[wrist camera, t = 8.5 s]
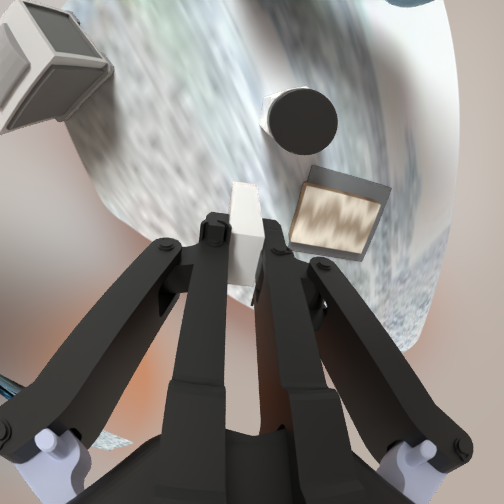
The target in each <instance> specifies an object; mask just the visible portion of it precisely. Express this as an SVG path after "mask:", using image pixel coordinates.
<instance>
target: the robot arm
mask: <svg viewBox="0 0 504 504" xmlns="http://www.w3.org/2000/svg"><path fill="white" fill-rule="evenodd" d="M385 1H386V2H388V3H390V4H392V5H395V6H399V7H416V6H420V5H423V4H426V3H429V2H432V1H434V0H385ZM254 282H256V286H255V290H254V294H253V298H252V302H251V306H253V304H254V310H255V327H256V345H257V363H258V379H259V396H260V397H259V398H260V414H261V427H260V432H259V435H258V436H250V435H246V434H243V433H239V432H235V431H232V430H228V429H225V414H226V413H225V412H226V390H225V386H224V360H225V328H226V305H227V284H233V285H241V286H250V287H253V286H254ZM184 292H188V294H187V299H186V304H185V309H184V315H183V319H182V325H181V330H180V336H179V341H178V347H177V353H176V358H175V365H174V371H173V376H172V380H171V381H170V382H169V386H168V391H167V398H166V404H165V412H164V419H163V426H162V434H160V435H158V436H155V437H153V438H151V439H149V440H148V441H146V442H145V443H143V444H142V445H141V446H140V447H139V448H137V449H136V450H135V451H134V452H133V453H131V454H130V455H129V456H128V457H126V458H125V459H124V460H123V461H122V462H120V463H119V464H118V465H117V466H115V467H114V468H113V469H112V470H110V471H109V472H108V473H106V474H105V475H104V476H103V477H101V478H100V479H99V480H97V481H96V482H95V483H93V484H92V485H91V486H89V487H88V488H87V489H85V490H84V479H85V477H86V475H87V474H88V472H89V470H90V468H91V457H90V454H89V452H88V449H89V448H90V447H91V445H92V444H93V443H94V442H95V440H96V439H97V438H98V436H99V435H100V433H101V432H102V430H103V428H104V427H105V425H106V423H107V421H108V419H109V417H110V416H111V414H112V412H113V410H114V408H115V406H116V405H117V403H118V401H119V399H120V397H121V395H122V394H123V392H124V390H125V388H126V387H127V385H128V383H129V381H130V380H131V378H132V376H133V374H134V372H135V371H136V369H137V367H138V366H139V364H140V362H141V360H142V359H143V357H144V355H145V353H146V352H147V350H148V348H149V347H150V345H151V343H152V342H153V340H154V338H155V336H156V335H157V333H158V331H159V330H160V328H161V326H162V325H163V323H164V321H165V320H166V318H167V316H168V315H169V313H170V312H171V310H172V308H173V307H174V305H175V303H176V302H177V300H178V298H179V296H180V293H184ZM324 302H326V304H327V308H326V306H325V305H324ZM321 360H322V362H323V364H324V366H325V368H326V370H327V372H328V374H329V376H330V378H331V379H332V382H333V383H334V385H335V387H336V389H337V391H338V392H336V390H335V389H331V388H328V386H327V384H326V380H325V376H324V372H323V367H322V363H321ZM338 393H339V394H338ZM339 395H340V397H341V399H342V401H343V403H344V405H345V407H346V409H347V411H348V413H349V415H350V417H351V419H352V421H353V423H354V425H355V427H356V429H357V431H358V433H359V435H360V437H361V439H362V440H363V442H364V444H365V446H366V447H367V449H368V450H369V452H370V453H371V454H372V456H373V457H374V458H375V459H376V461H377V462H378V463H379V464H380V467H379V468H378V469H377V471H375V470H373V469H372V468H371V467H370V466H369V465H368V464H366V463H365V462H364V461H363V460H362V459H361V458H360V457H359V456H357V455H356V454H355V453H354V452H353V451H352V450H351V445H350V441H349V436H348V431H347V426H346V422H345V418H344V413H343V409H342V405H341V401H340V397H339ZM472 454H473V443H472V440H471V438H470V437H469V435H468V434H467V433H466V432H465V431H464V430H463V429H462V428H460V427H459V426H458V425H457V424H456V423H455V422H454V421H453V420H452V419H451V418H450V417H449V416H447V415H446V414H445V413H444V412H443V411H442V410H441V409H440V408H439V407H438V406H436V405H435V403H434V402H433V400H432V398H431V397H430V395H429V394H428V392H427V391H426V389H425V388H424V386H423V385H422V383H421V381H420V380H419V378H418V377H417V375H416V374H415V372H414V371H413V369H412V368H411V367H410V365H409V364H408V362H407V360H406V359H405V358H404V356H403V355H402V353H401V352H400V350H399V349H398V347H397V346H396V344H395V343H394V342H393V340H392V339H391V337H390V336H389V335H388V333H387V332H386V330H385V329H384V328H383V326H382V325H381V323H380V322H379V321H378V319H377V318H376V317H375V315H374V314H373V312H372V311H371V310H370V308H369V307H368V306H367V304H366V303H365V302H364V300H363V299H362V298H361V296H360V295H359V294H358V292H357V291H356V290H355V288H354V287H353V286H352V285H351V283H350V282H349V281H348V279H347V278H346V277H345V275H344V274H343V273H342V272H341V270H340V269H339V268H338V267H337V265H336V264H335V263H334V262H333V261H331V260H329V259H327V258H325V257H313V258H312V259H311V260H310V263H306V262H303V261H300V260H298V259H296V258H295V257H294V254H293V252H292V250H291V249H290V248H289V247H287V246H286V244H285V240H284V236H283V232H282V228H281V225H280V224H279V223H278V222H277V221H276V220H271V219H264V218H262V215H261V208H260V202H259V195H258V189H257V185H254V184H248V183H241V182H234V181H233V186H232V192H231V198H230V204H229V211H228V214H224V213H216V212H211V213H209V214H208V215H207V216H206V220H204V221H202V223H201V226H200V237H199V243H198V244H196V245H193V246H189V247H182V246H181V243H180V242H179V241H178V240H175V239H173V238H159V239H156V240H155V241H153V242H152V243H151V244H150V245H149V246H148V247H147V248H146V249H145V250H144V251H143V252H142V253H141V254H140V255H139V256H138V257H137V258H136V259H135V261H134V262H133V263H132V264H131V265H130V266H129V267H128V268H127V269H126V270H125V271H124V272H123V274H122V275H121V276H120V277H119V278H118V279H117V280H116V281H115V282H114V283H113V284H112V286H111V287H110V288H109V289H108V290H107V291H106V292H105V293H104V295H103V296H102V297H101V298H100V299H99V300H98V301H97V303H96V304H95V305H94V306H93V307H92V308H91V310H90V311H89V312H88V313H87V314H86V315H85V317H84V318H83V319H82V320H81V322H80V323H79V324H78V325H77V326H76V328H75V329H74V330H73V331H72V333H71V334H70V335H69V336H68V338H67V339H66V340H65V341H64V343H63V344H62V345H61V346H60V348H59V349H58V350H57V352H56V353H55V354H54V356H53V357H52V358H51V359H50V361H49V362H48V363H47V365H46V366H45V368H44V369H43V370H42V372H41V373H40V375H39V376H38V377H37V379H36V380H35V381H34V382H33V383H32V384H30V385H29V386H28V387H26V388H25V389H23V390H22V391H20V392H19V393H18V394H16V395H15V396H14V397H12V398H11V399H9V400H8V401H7V402H5V403H4V404H3V405H1V406H0V455H1V456H2V457H4V458H6V459H7V460H9V461H10V462H12V463H13V464H14V465H15V466H16V468H17V469H18V471H19V472H20V474H21V475H22V477H23V478H24V480H25V481H26V483H27V484H28V485H29V487H30V488H31V489H32V490H33V492H34V493H35V494H36V496H37V497H38V498H39V500H40V501H41V502H42V503H43V504H428V502H429V501H430V500H431V498H432V496H433V495H434V494H435V492H436V491H437V489H438V488H439V486H440V485H441V483H442V481H443V480H444V478H445V476H446V475H447V474H448V473H449V472H451V471H453V470H455V469H457V468H458V467H460V466H462V465H464V464H466V463H467V462H469V460H470V459H471V458H472Z"/></svg>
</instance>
